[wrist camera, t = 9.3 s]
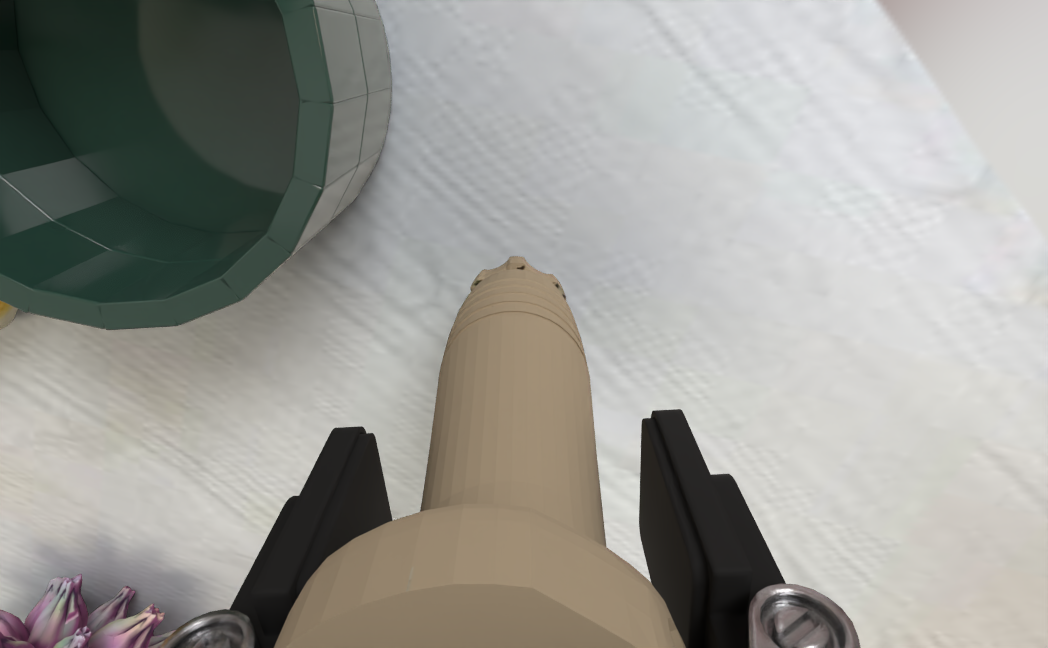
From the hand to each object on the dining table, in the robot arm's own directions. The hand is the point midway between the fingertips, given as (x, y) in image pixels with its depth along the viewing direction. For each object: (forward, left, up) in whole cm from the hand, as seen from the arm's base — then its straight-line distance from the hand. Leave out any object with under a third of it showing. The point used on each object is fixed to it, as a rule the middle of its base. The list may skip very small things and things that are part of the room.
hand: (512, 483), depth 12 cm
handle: (0, 0, -10) cm, 10 cm away
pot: (-8, -10, -12) cm, 18 cm away
